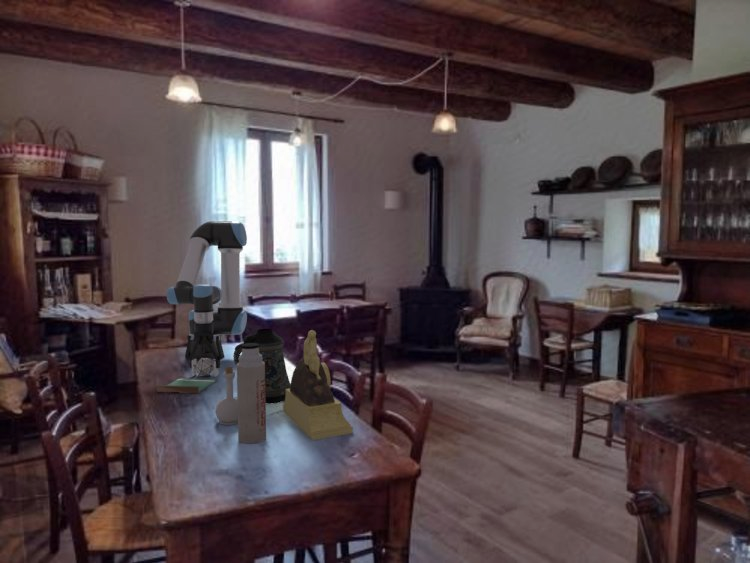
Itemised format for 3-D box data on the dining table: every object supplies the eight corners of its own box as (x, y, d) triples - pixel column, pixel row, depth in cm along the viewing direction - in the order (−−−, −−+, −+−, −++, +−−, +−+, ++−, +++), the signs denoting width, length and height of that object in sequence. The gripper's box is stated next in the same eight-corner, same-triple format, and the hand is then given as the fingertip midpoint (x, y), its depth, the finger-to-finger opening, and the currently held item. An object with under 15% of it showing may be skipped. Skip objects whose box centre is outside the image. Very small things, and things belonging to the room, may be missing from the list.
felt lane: (180, 379, 227) (180, 377, 227) (217, 380, 225) (217, 379, 225) (158, 390, 210) (158, 389, 210) (198, 392, 208) (198, 391, 208)
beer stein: (301, 397, 203) (300, 329, 200) (256, 409, 189) (255, 336, 186) (273, 388, 214) (272, 323, 212) (229, 399, 200) (227, 330, 198)
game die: (209, 383, 234) (224, 363, 235) (202, 381, 225) (216, 361, 227) (193, 371, 236) (208, 352, 237) (185, 369, 227) (200, 349, 229)
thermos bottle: (271, 436, 164) (270, 343, 161) (252, 445, 157) (250, 348, 155) (252, 431, 168) (250, 340, 165) (232, 440, 161) (230, 345, 159)
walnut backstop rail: (158, 390, 210) (158, 384, 210) (198, 392, 208) (198, 386, 208) (157, 391, 209) (156, 385, 209) (197, 393, 207) (197, 387, 207)
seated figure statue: (352, 433, 167) (352, 334, 164) (312, 440, 161) (311, 338, 159) (319, 406, 192) (318, 320, 189) (283, 412, 186) (281, 323, 184)
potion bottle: (219, 428, 171) (218, 370, 169) (213, 419, 179) (212, 364, 177) (247, 423, 175) (246, 367, 173) (240, 415, 183) (239, 361, 181)
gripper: (174, 322, 227) (176, 376, 229) (225, 323, 224) (226, 378, 226) (183, 319, 235) (185, 372, 237) (232, 320, 232) (233, 374, 234)
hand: (205, 375), depth 232 cm, fingers open, 9 cm apart
